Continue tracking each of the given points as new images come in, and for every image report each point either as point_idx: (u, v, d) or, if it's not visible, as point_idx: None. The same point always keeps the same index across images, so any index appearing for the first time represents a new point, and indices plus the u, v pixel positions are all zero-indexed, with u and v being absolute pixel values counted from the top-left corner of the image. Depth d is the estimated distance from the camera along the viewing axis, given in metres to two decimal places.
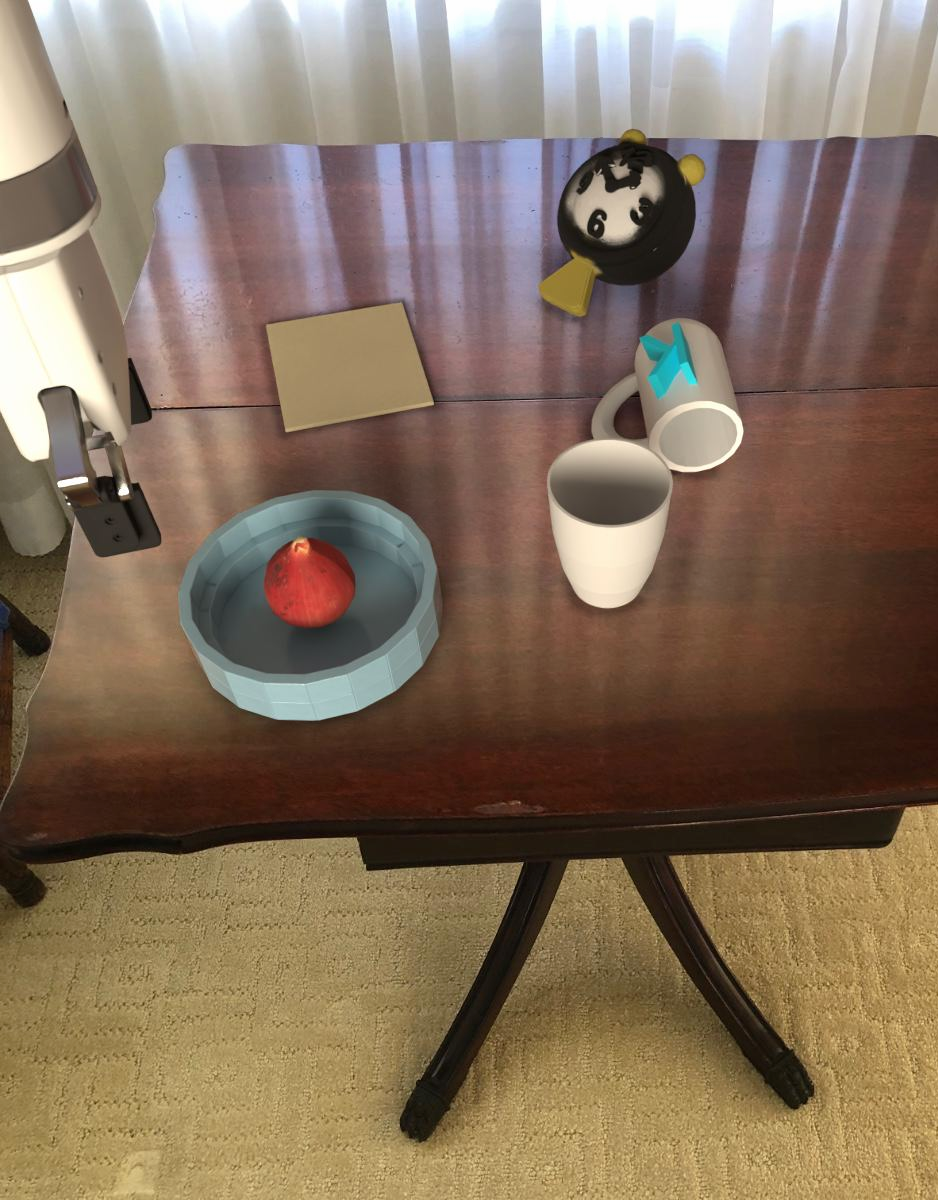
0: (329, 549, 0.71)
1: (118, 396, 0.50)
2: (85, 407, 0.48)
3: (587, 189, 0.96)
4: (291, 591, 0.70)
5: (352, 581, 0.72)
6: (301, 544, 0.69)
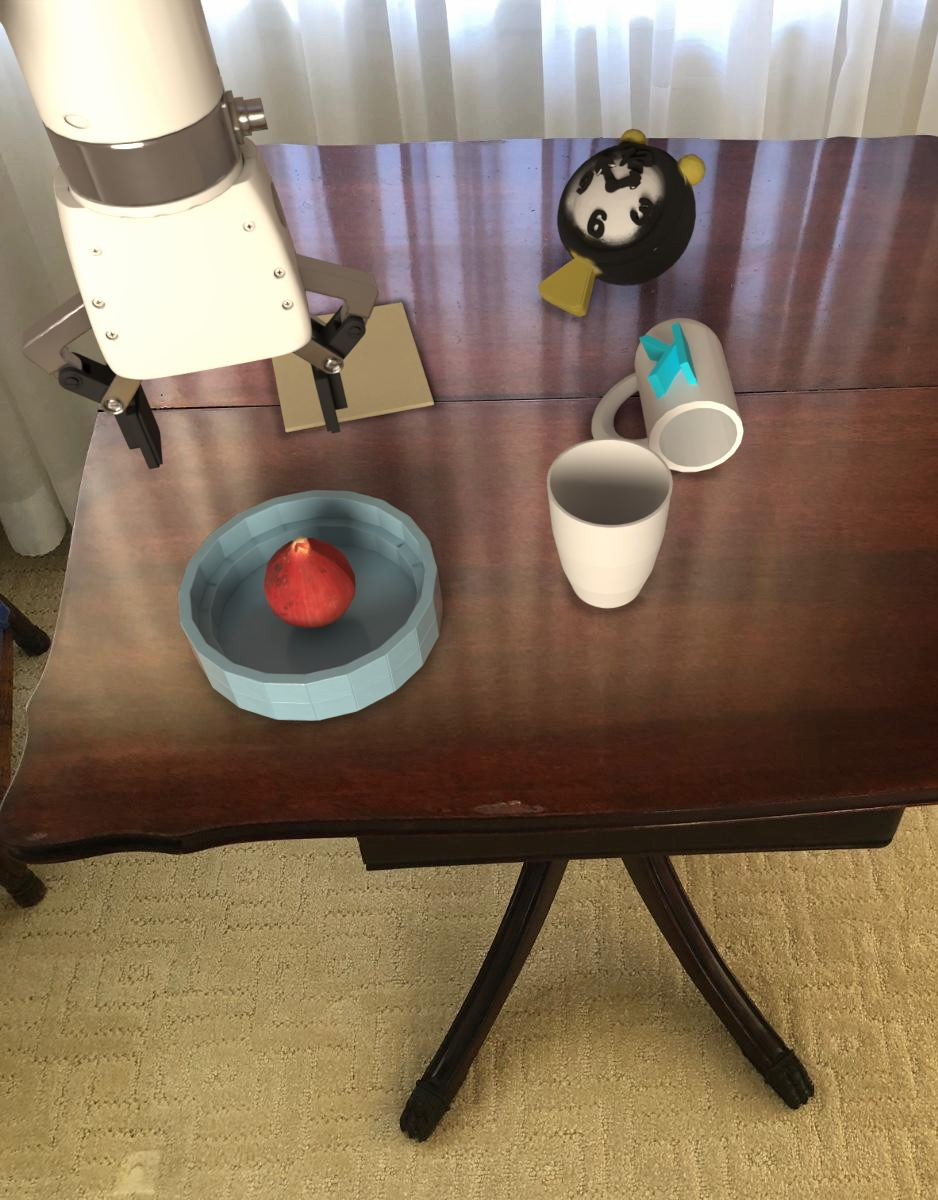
0: (329, 549, 0.71)
1: (119, 344, 0.52)
2: None
3: (587, 189, 0.96)
4: (291, 591, 0.70)
5: (352, 581, 0.72)
6: (301, 544, 0.69)
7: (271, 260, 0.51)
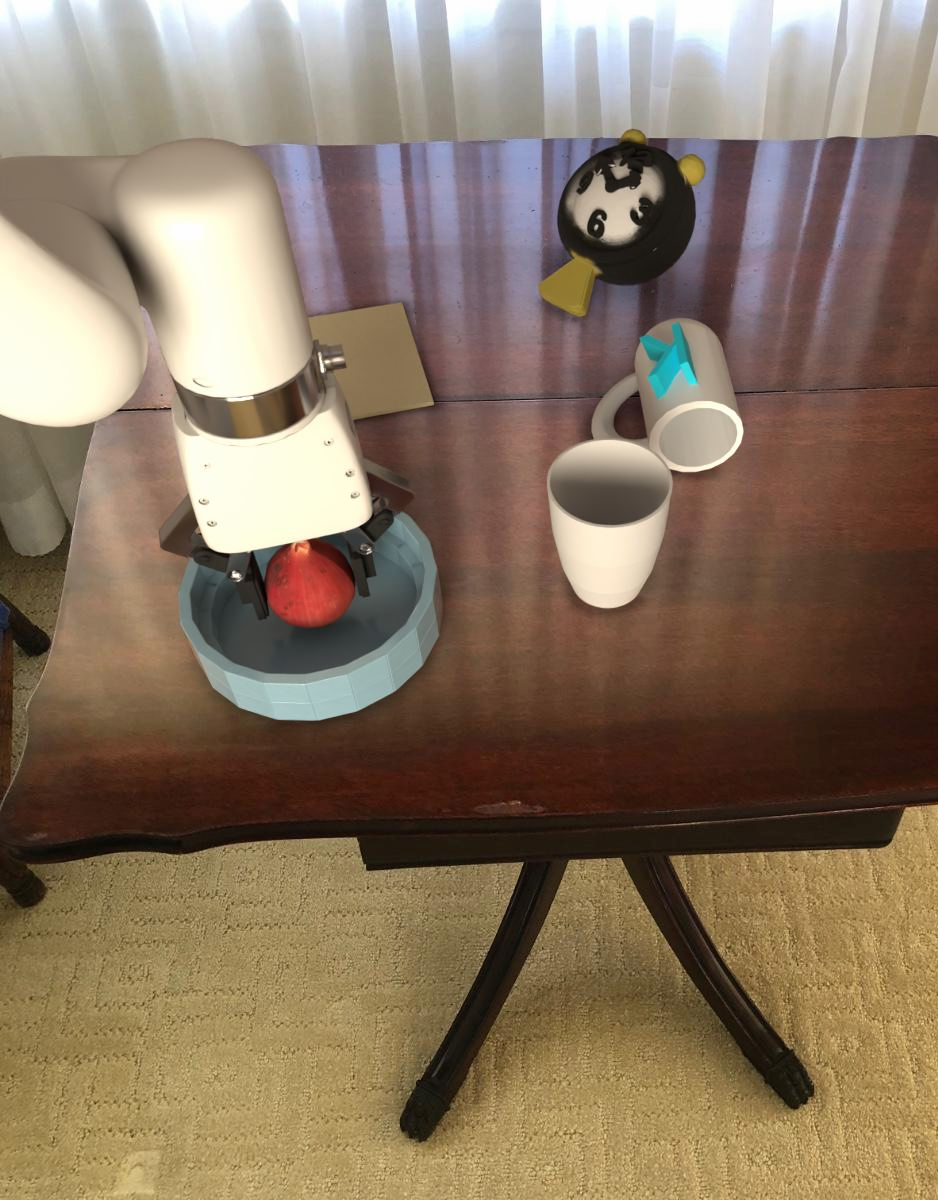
0: (329, 549, 0.71)
1: (217, 529, 0.64)
2: (194, 512, 0.64)
3: (587, 189, 0.96)
4: (291, 591, 0.70)
5: (352, 581, 0.72)
6: (301, 544, 0.69)
7: (344, 464, 0.63)
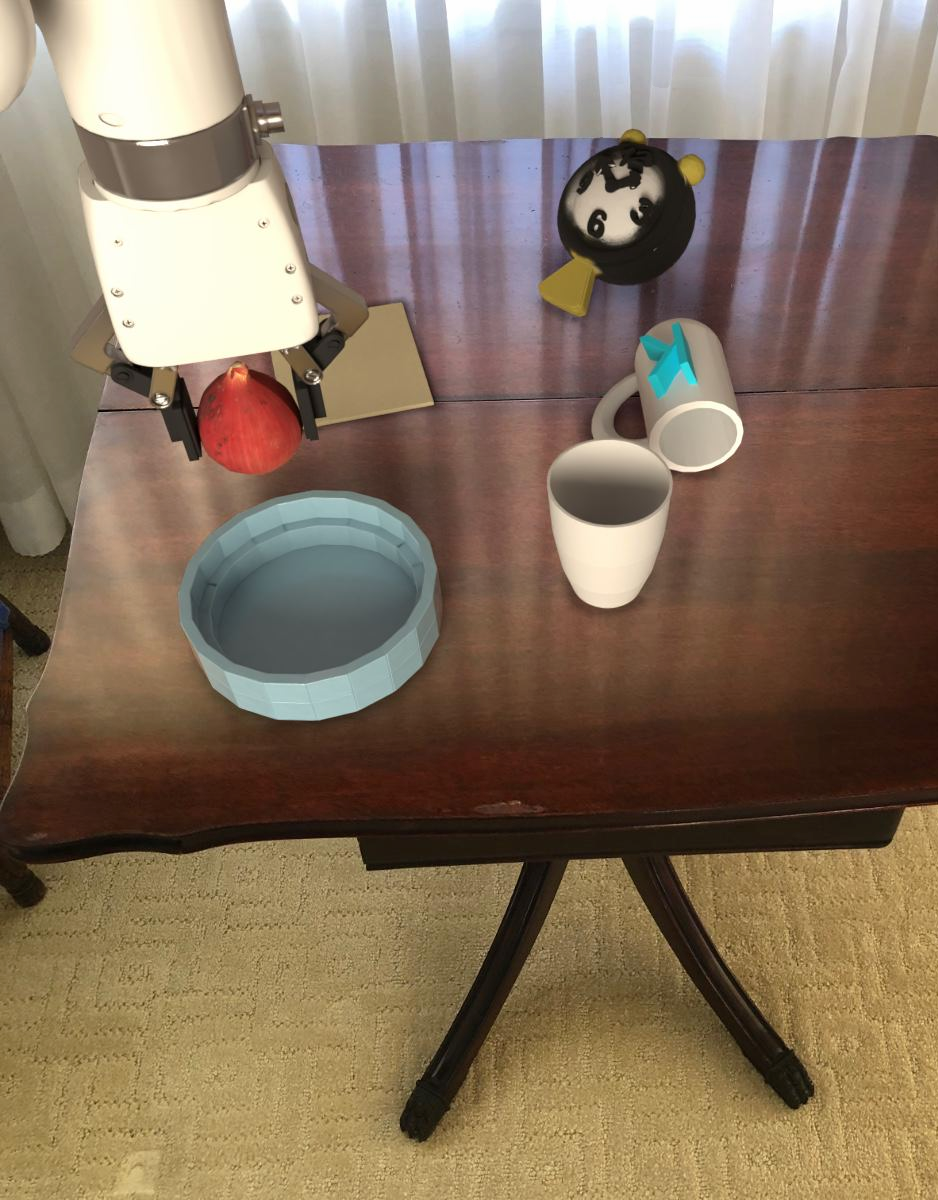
0: (271, 381, 0.62)
1: (135, 332, 0.55)
2: (109, 312, 0.55)
3: (587, 189, 0.96)
4: (225, 425, 0.61)
5: (298, 420, 0.63)
6: (238, 369, 0.60)
7: (283, 256, 0.54)
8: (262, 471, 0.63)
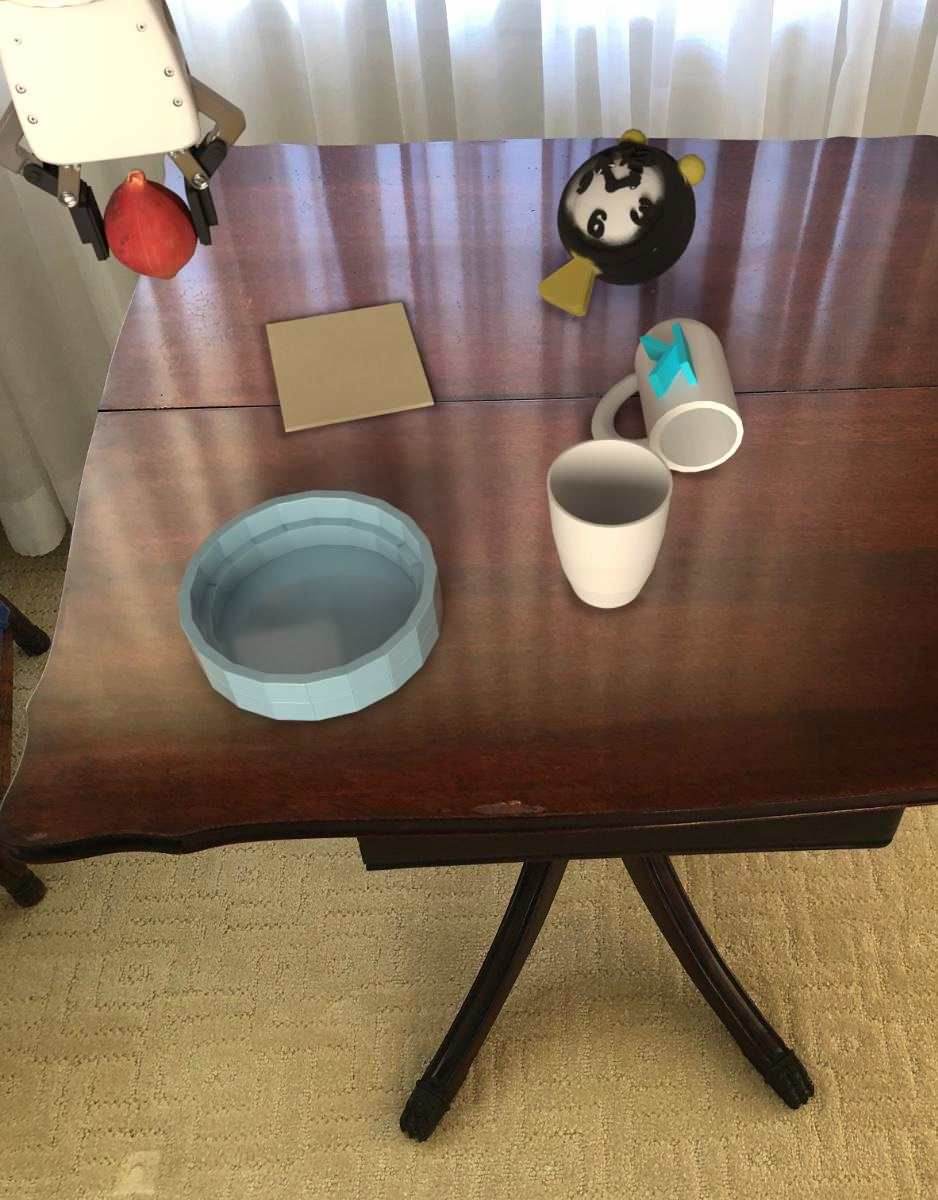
0: (167, 189, 0.72)
1: (39, 128, 0.65)
2: (17, 112, 0.65)
3: (587, 189, 0.96)
4: (126, 223, 0.71)
5: (192, 226, 0.73)
6: (135, 174, 0.70)
7: (161, 59, 0.64)
8: (162, 270, 0.73)
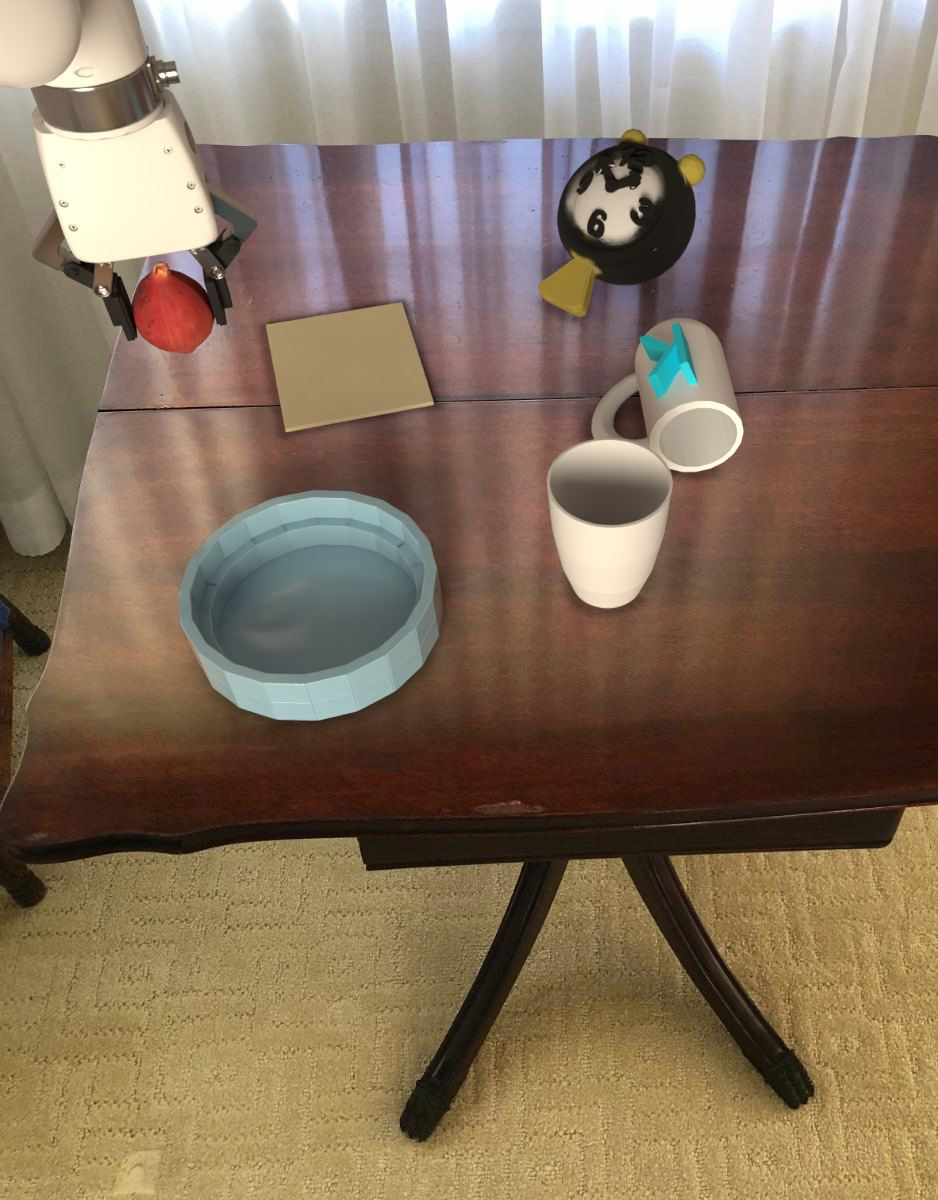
0: (188, 278, 0.82)
1: (78, 235, 0.75)
2: (59, 220, 0.75)
3: (587, 189, 0.96)
4: (152, 310, 0.81)
5: (209, 309, 0.83)
6: (160, 267, 0.80)
7: (185, 175, 0.74)
8: (183, 348, 0.83)
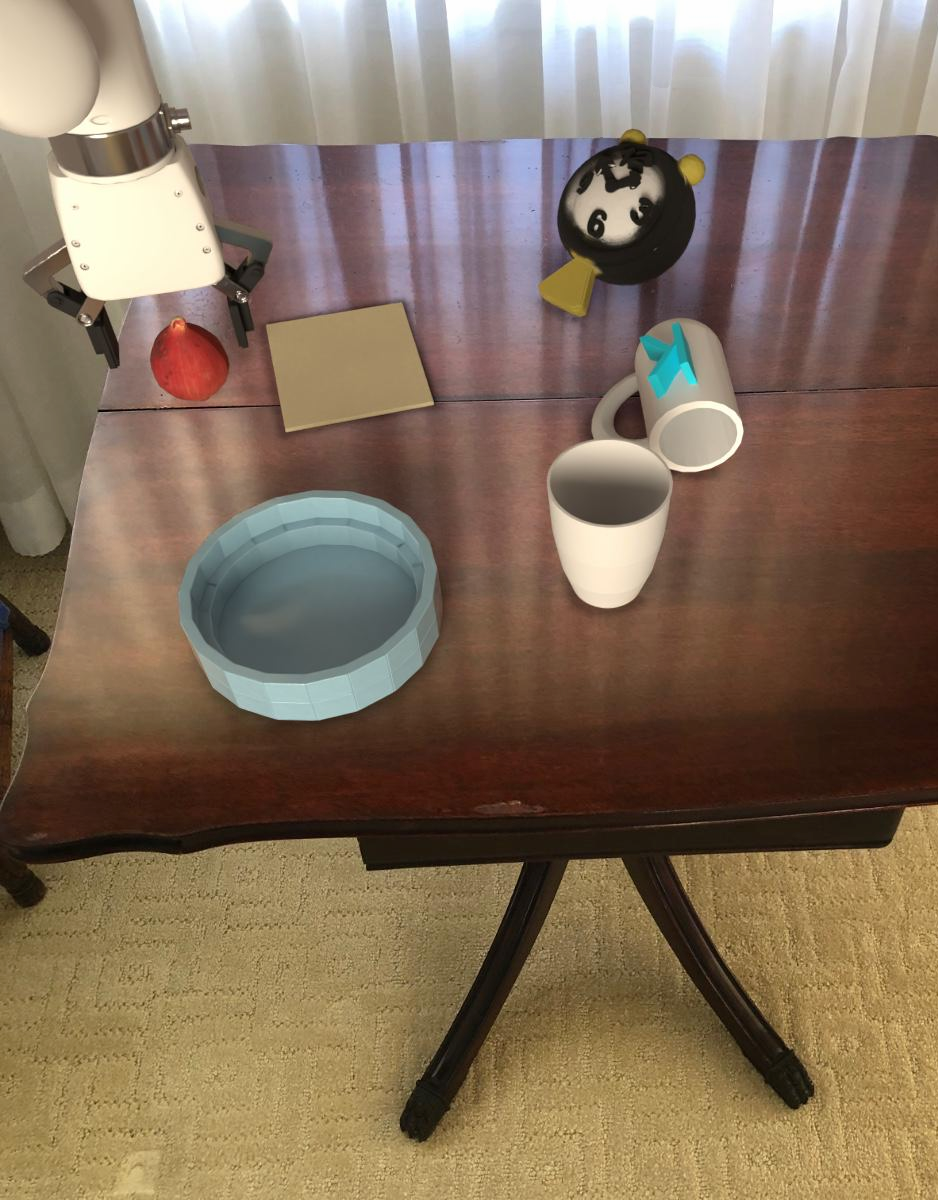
0: (204, 330, 0.86)
1: (89, 273, 0.77)
2: (71, 259, 0.77)
3: (587, 189, 0.96)
4: (170, 362, 0.84)
5: (224, 359, 0.87)
6: (178, 321, 0.84)
7: (194, 217, 0.76)
8: (199, 397, 0.87)
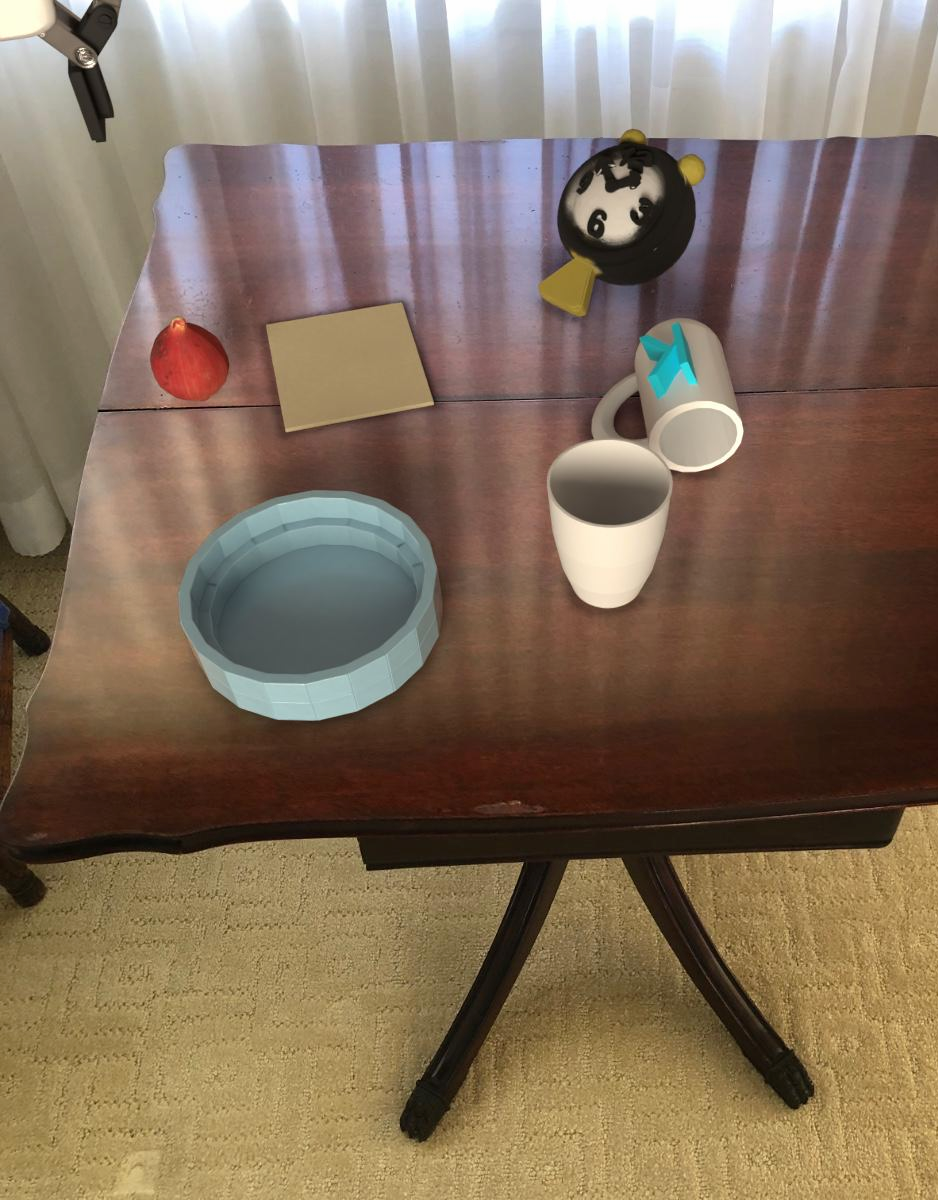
0: (204, 330, 0.86)
1: None
2: None
3: (587, 189, 0.96)
4: (170, 362, 0.84)
5: (224, 359, 0.87)
6: (178, 321, 0.84)
7: None
8: (199, 397, 0.87)
